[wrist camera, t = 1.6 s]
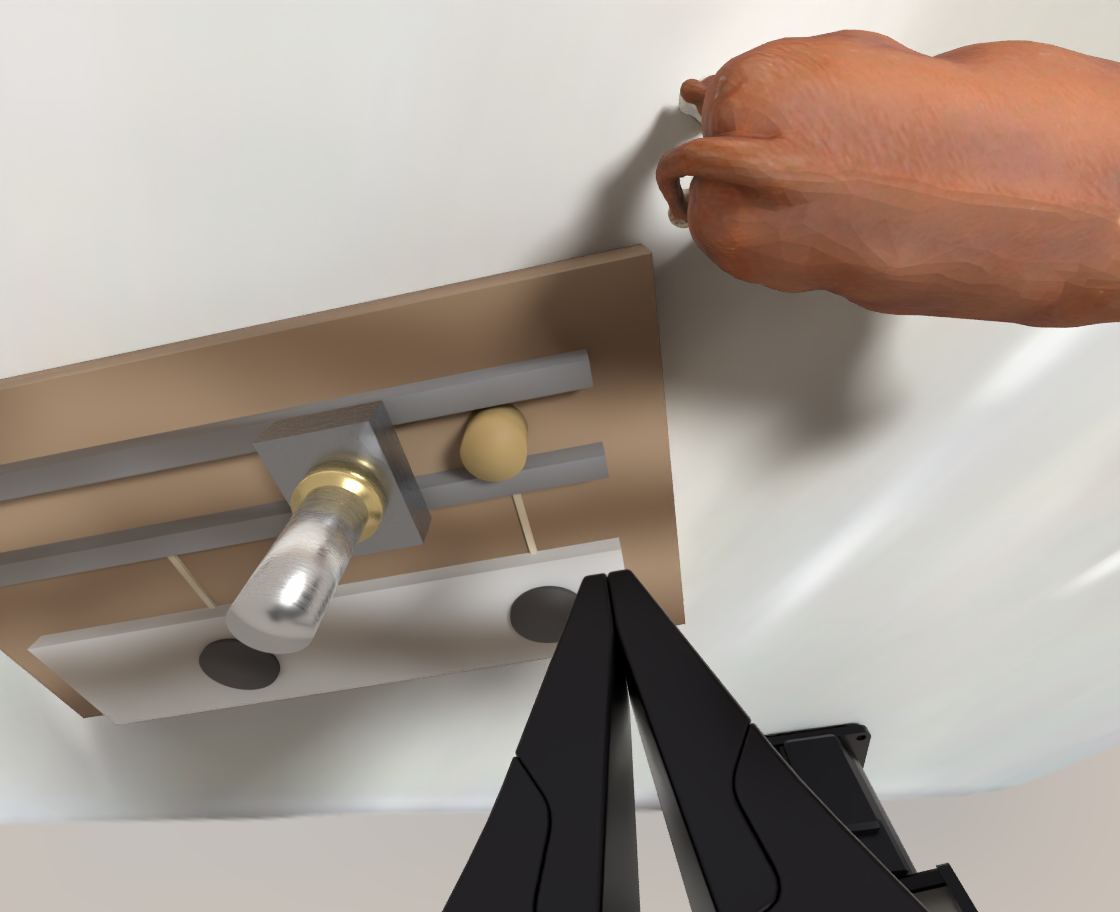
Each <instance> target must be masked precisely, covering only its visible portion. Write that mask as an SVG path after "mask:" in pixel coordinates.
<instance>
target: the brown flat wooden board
mask: <svg viewBox="0 0 1120 912" xmlns="http://www.w3.org/2000/svg"><path fill="white" fill-rule="evenodd" d="M380 400H382V401H383V403H384V405H385V408H386V410H387V412H388V415H389V417H390V420H391V422H392V424H393V427H394V429H395V432H396V434H397V436H398V439H399V441H400V443H401V446H402V448H403V451H404V453H405V455H406V458H407V460H408V462H409V465H410V467H411V470H412V472H413V474H414V477H415V479H416V482H417V484H418V486H419V489H420V491H421V493H422V496H423V498H424V501H425V503H426V505H427V508H428V510H429V512H430V515H431V517H432V518H431V522H430V525H429V529H428V532H427V535H426V539H425V542H424V544H423V545H417V546H411V547H406V548H400V549H394V550H388V551H383V552H377V553H371V554H365V555H360V556H354V557H351V558H350V560H349V563H348V565H347V567H346V569H345V571H344V573H343V575H342V578H341V580H340V582H339V584H338V586H337V588H336V590H335V593H334V595H333V597H332V599H331V601H330V603H329V605H328V607H327V610H326V612H325V614H324V616H323V618H322V620H321V622H320V625H319V627H318V629H317V631H316V633H315V635H314V637H313V639H312V641H311V643H310V644H309V645H308V646H307V647H305V648H304V649H302V650H300V651H297V652H294V653H288V654H273V653H267V652H262V651H259V650H256V649H253V648H251V647H249V646H247V645H245V644H243V643H242V642H240V641H239V640H238V639H237V638H235V637H234V636H233V634H232V633H231V632H230V631H229V629H228V627H227V624H226V614H227V611H228V610H229V608H230V607H231V605H232V604H233V602H234V601H235V599H236V598H237V596H238V595H239V593H240V592H241V591H242V589H243V588H244V586H245V585H246V583H247V582H248V580H249V579H250V577H251V576H252V574H253V573H254V571H255V570H256V569H257V567H258V566H259V564H260V563H261V561H262V560H263V558H264V557H265V555H266V554H267V552H268V551H269V550H270V548H271V547H272V545H273V544H274V542H275V541H276V539H277V538H278V536H279V535H280V533H281V532H282V530H283V529H284V528H285V526H286V525H287V523H288V522H289V520H290V519H291V517H292V516H293V513H292V510H291V507H290V506H289V504H288V502H287V501H286V499H285V497H284V496H283V494H282V492H281V491H280V489H279V487H278V486H277V484H276V482H275V481H274V479H273V477H272V476H271V474H270V472H269V471H268V469H267V467H266V466H265V464H264V462H263V461H262V459H261V457H260V456H259V454H258V453H257V451H256V449H255V448H254V446H253V444H252V443H253V442H254V441H255V440H256V439H257V438H258V437H259V436H260V435H261V434H262V433H263V432H264V431H265V430H266V429H267V428H268V427H269V426H270V425H271V424H272V423H273V422H274V421H278V420H283V419H289V418H294V417H299V416H304V415H309V414H314V413H319V412H324V411H329V410H334V409H339V408H344V407H350V406H355V405H360V404H365V403H370V402H375V401H380ZM624 569H629V570H631V571H632V572H633V573H634V574H635V575H636V577H637V578H638V579H639V580H640V582H641V583H642V584H643V585H644V587H645V588H646V589H647V590H648V592H649V593H650V594H651V595H652V597H653V598H654V599H655V600H656V602H657V603H658V604H659V605H660V607H661V608H662V609H663V610H664V612H665V613H666V614H667V615H668V617H669V618H670V619H671V620H672V621H673V623H674V624H675V625H681V624H685V616H684V605H683V594H682V583H681V572H680V561H679V549H678V538H677V527H676V516H675V505H674V494H673V483H672V472H671V461H670V450H669V439H668V428H667V417H666V406H665V395H664V384H663V373H662V362H661V351H660V340H659V329H658V318H657V307H656V296H655V285H654V274H653V263H652V253H651V252H650V251H649V250H647V249H646V248H645V247H644V246H643V245H642V244H638V245H633V246H629V247H624V248H619V249H615V250H610V251H605V252H600V253H596V254H591V255H586V256H582V257H577V258H572V259H567V260H563V261H558V262H553V263H548V264H544V265H539V266H534V267H530V268H525V269H520V270H515V271H511V272H506V273H501V274H496V275H492V276H487V277H482V278H478V279H473V280H468V281H463V282H459V283H454V284H449V285H444V286H440V287H435V288H430V289H426V290H421V291H416V292H411V293H407V294H402V295H397V296H393V297H388V298H383V299H378V300H374V301H369V302H364V303H359V304H355V305H350V306H345V307H341V308H336V309H331V310H326V311H322V312H317V313H312V314H307V315H303V316H298V317H293V318H289V319H284V320H279V321H274V322H270V323H265V324H260V325H255V326H251V327H246V328H241V329H237V330H232V331H227V332H222V333H218V334H213V335H208V336H204V337H199V338H194V339H189V340H185V341H180V342H175V343H170V344H166V345H161V346H156V347H152V348H147V349H142V350H137V351H133V352H128V353H123V354H118V355H114V356H109V357H104V358H100V359H95V360H90V361H85V362H81V363H76V364H71V365H66V366H62V367H57V368H52V369H48V370H43V371H38V372H33V373H29V374H24V375H19V376H15V377H10V378H5V379H0V650H1V651H3V652H4V653H5V654H6V655H7V656H9V657H10V658H11V659H12V660H13V661H15V662H16V663H17V664H18V665H20V666H21V667H22V668H23V669H24V670H26V671H27V672H28V673H29V674H31V675H32V676H33V677H34V678H35V679H37V680H38V681H39V682H40V683H42V684H43V685H44V686H45V687H46V688H48V689H49V690H50V691H51V692H53V693H54V694H55V695H56V696H57V697H59V698H60V699H61V700H62V701H63V702H65V703H66V704H67V705H68V706H70V707H71V708H72V709H73V710H74V711H76V712H77V713H78V714H79V715H81V716H82V717H83V718H88V717H94V716H100V715H105V716H106V717H107V718H108V719H109V720H111V721H112V722H113V723H114V724H115V725H120V724H127V723H133V722H140V721H146V720H153V719H159V718H166V717H172V716H179V715H185V714H192V713H198V712H204V711H211V710H217V709H224V708H230V707H237V706H243V705H250V704H256V703H263V702H269V701H275V700H282V699H288V698H295V697H301V696H308V695H314V694H321V693H327V692H334V691H340V690H347V689H353V688H359V687H366V686H372V685H379V684H385V683H392V682H398V681H405V680H411V679H418V678H424V677H430V676H437V675H443V674H450V673H456V672H463V671H469V670H476V669H482V668H489V667H495V666H502V665H508V664H514V663H521V662H527V661H534V660H540V659H547V658H552V657H553V654H554V651H555V649H556V646H557V644H558V641H559V639H560V636H561V633H562V631H563V628H564V626H565V623H566V621H567V618H568V615H569V613H570V610H571V608H572V605H573V602H574V600H575V597H576V595H577V592H578V590H579V587H580V584H581V582H582V580H583V578H584V577H585V576H588V575H594V574H600V573H605V574H606V575H607V577H608V573H609V572H612V571H618V570H624Z"/></svg>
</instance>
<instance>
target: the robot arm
mask: <svg viewBox="0 0 1120 912" xmlns="http://www.w3.org/2000/svg"><path fill="white" fill-rule="evenodd" d="M626 682H627V683H626ZM627 687H628V689H627ZM628 691H629V696H630V701H631V705H632V708H633V712H634V716H635V719H636V723H637V726H638V729H639V733H640V736H641V740H642V743H643V746H644V750H645V753H646V757H647V760H648V763H649V767H650V770H651V774H652V777H653V780H654V784H655V787H656V791H657V794H658V797H659V801H660V804H661V808H662V811H663V814H664V818H665V821H666V825H667V828H668V831H669V835H670V838H671V842H672V845H673V848H674V852H675V855H676V859H677V862H678V865H679V869H680V872H681V876H682V879H683V882H684V886H685V889H686V893H687V896H688V899H689V903H690V906H691V910H692V912H978V911H977V909H976V908H975V906H974V904H973V903H972V901H971V899H970V898H969V896H968V894H967V893H966V891H965V889H964V888H963V886H962V884H961V883H960V881H959V879H958V878H957V876H956V874H955V873H954V871H953V869H952V868H951V866H950V865H949V863H945V864H941V865H936V867H937V868H936V869H931V870H927V871H923V872H919V873H917V871H916V869H915V868H914V866H913V864H912V862H911V860H910V858H909V856H908V854H907V852H906V850H905V848H904V847H903V845H902V843H901V841H900V839H899V837H898V835H897V834H896V832H895V830H894V828H893V826H892V824H891V822H890V820H889V818H888V816H887V814H886V812H885V811H884V808H883V807H882V805H881V803H880V801H879V799H878V797H877V795H876V793H875V791H874V789H873V787H872V786H871V784H870V782H869V780H868V778H867V776H866V774H865V772H864V770H863V767H864V763H865V759H866V755H867V750H868V746H869V742H870V738H871V734H870V733H869V731H868V729H867V727H866V726H864V725H855V726H848V727H841V728H834V729H826V730H819V731H812V732H805V733H798V734H790V735H783V736H776V737H769V738H766V737H765V736H764V734H763V733H762V732H761V731H760V729H759V728H758V727H757V726H756V725H755V724H754V723H752V724H751V719H750V717H749V716H748V715H747V714H746V712H745V711H744V710H743V709H742V707H741V706H740V705H739V704H738V702H737V701H736V700H735V699H734V697H733V696H732V695H731V694H730V692H729V691H728V690H727V689H726V687H725V686H724V685H723V684H722V682H721V681H720V680H719V679H718V678H717V676H716V675H715V674H714V673H713V671H712V670H711V669H710V668H709V666H708V665H707V664H706V663H705V661H704V660H703V659H702V658H701V656H700V655H699V654H698V653H697V651H696V650H695V649H694V648H693V646H692V645H691V644H690V643H689V641H688V640H687V639H686V638H685V636H684V635H683V634H682V633H681V631H680V630H679V629H678V628H677V626H676V625H675V624H674V623H673V621H672V620H671V619H670V618H669V617H668V615H667V614H666V613H665V612H664V610H663V609H662V608H661V607H660V605H659V604H658V603H657V602H656V600H655V599H654V598H653V597H652V595H651V594H650V593H649V592H648V590H647V589H646V588H645V587H644V585H643V584H642V583H641V582H640V580H639V579H638V578H637V577H636V575H635V574H634V573H633V572H632V571H631V570H629V569H624V570H618V571H612V572H609V573H608V577H607V575H606V574H605V573H600V574H594V575H588V576H585V577H584V578H583V580H582V582H581V584H580V587H579V590H578V592H577V595H576V597H575V600H574V602H573V605H572V608H571V610H570V613H569V615H568V618H567V621H566V623H565V626H564V628H563V631H562V633H561V636H560V639H559V641H558V644H557V646H556V649H555V651H554V654H553V657H552V659H551V662H550V664H549V667H548V669H547V672H546V675H545V677H544V680H543V682H542V685H541V687H540V690H539V693H538V695H537V698H536V700H535V703H534V705H533V708H532V711H531V713H530V716H529V718H528V721H527V723H526V726H525V729H524V731H523V734H522V736H521V739H520V742H519V744H518V747H517V749H516V752H515V753H516V756H517V757H514V758H513V759H512V761H511V764H510V767H509V769H508V772H507V774H506V777H505V780H504V782H503V785H502V787H501V789H500V792H499V794H498V796H497V799H496V801H495V804H494V806H493V808H492V811H491V813H490V815H489V818H488V820H487V822H486V825H485V827H484V829H483V831H482V833H481V835H480V837H479V839H478V841H477V843H476V845H475V847H474V849H473V851H472V853H471V856H470V858H469V860H468V862H467V864H466V866H465V868H464V870H463V872H462V874H461V876H460V878H459V880H458V881H457V883H456V885H455V887H454V889H453V891H452V893H451V895H450V897H449V899H448V901H447V903H446V905H445V907H444V909H443V911H442V912H640V900H639V899H640V898H639V881H638V880H639V879H638V858H637V839H636V819H635V800H634V780H633V761H632V741H631V722H630V707H629V696H628Z"/></svg>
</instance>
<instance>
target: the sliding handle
mask: <svg viewBox="0 0 1120 912" xmlns="http://www.w3.org/2000/svg"><path fill="white" fill-rule="evenodd" d="M252 444H253V446H254V448H255V449H256V451H257V453H258V454H259V456H260V457H261V459H262V461H263V462H264V464H265V466H266V467H267V469H268V471H269V472H270V474H271V476H272V477H273V479H274V481H275V482H276V484H277V486H278V487H279V489H280V491H281V492H282V494H283V496H284V497H285V499H286V501H287V502H288V504H289V506H290V507H291V510H292V513H293V516H292V517H291V519H290V520H289V522H288V523H287V525H286V526H285V528H284V529H283V530H282V532H281V533H280V535H279V536H278V538H277V539H276V541H275V542H274V544H273V545H272V547H271V548H270V550H269V551H268V552H267V554H266V555H265V557H264V558H263V560H262V561H261V563H260V564H259V566H258V567H257V569H256V570H255V571H254V573H253V574H252V576H251V577H250V579H249V580H248V582H247V583H246V585H245V586H244V588H243V589H242V591H241V592H240V593H239V595H238V596H237V598H236V599H235V601H234V602H233V604H232V605H231V607H230V608H229V610H228V611H227V614H226V624H227V627H228V629H229V631H230V632H231V633H232V634H233V636H234V637H235V638H237V639H238V640H239V641H240V642H242V643H243V644H245V645H247V646H249V647H251V648H253V649H256V650H259V651H262V652H267V653H273V654H288V653H294V652H297V651H300V650H302V649H304V648H305V647H307V646H308V645H309V644H310V643H311V641H312V639H313V637H314V635H315V633H316V631H317V629H318V627H319V625H320V622H321V620H322V618H323V616H324V614H325V612H326V610H327V607H328V605H329V603H330V601H331V599H332V597H333V595H334V593H335V590H336V588H337V586H338V584H339V582H340V580H341V578H342V575H343V573H344V571H345V569H346V567H347V565H348V563H349V560H350V558H351V557H354V556H360V555H365V554H371V553H377V552H383V551H388V550H394V549H400V548H406V547H411V546H417V545H423V544H424V542H425V539H426V535H427V532H428V529H429V525H430V522H431V518H432V517H431V515H430V512H429V510H428V508H427V505H426V503H425V501H424V498H423V496H422V493H421V491H420V489H419V486H418V484H417V482H416V479H415V477H414V474H413V472H412V470H411V467H410V465H409V462H408V460H407V458H406V455H405V453H404V451H403V448H402V446H401V443H400V441H399V439H398V436H397V434H396V432H395V429H394V427H393V424H392V422H391V420H390V417H389V415H388V412H387V410H386V408H385V405H384V403H383V401H382V400H380V401H375V402H370V403H365V404H360V405H355V406H350V407H344V408H339V409H334V410H329V411H324V412H319V413H314V414H309V415H304V416H299V417H294V418H289V419H283V420H278V421H274V422H273V423H272V424H271V425H270V426H269V427H268V428H267V429H266V430H265V431H264V432H263V433H262V434H261V435H260V436H259V437H258V438H257V439H256V440H255V441H254V442H253V443H252Z"/></svg>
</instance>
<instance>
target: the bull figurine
mask: <svg viewBox="0 0 1120 912" xmlns="http://www.w3.org/2000/svg"><path fill="white" fill-rule="evenodd" d="M679 108H680V110H681V111H682V112H683V113H686V114H689V115H691V116H693V117H695V118H696V120H697V121H698V122H699V123H701V126H702V134H703V138H697V139H694V140H692V141H689V142H687V143H684V144H682V145H680V146H677V147H675V148H673V149H671V150H670V151H668V152H667V153H666V154H664V155H663V156H662V158H661V159H660V161H659V163H658V167H657V170H656V180H657V184H658V186H659V189H660V191H661V192H662V194H663V196H664V198H665V199H666V201H667V202H668V205H669V209H668V216H669V219H670V221H671V223H672V224H673V225H675V226H677V227H680V228H687V227H689V230H690V233H691V235H692V238H693V239H694V241H695V242H696V244H697V245H698V246H699V248H700V249H701V250H702V251H703V252H704V253H705V254H706V255H707V256H708V257H709V258H710V259H711V260H712V261H713V262H714V263H715V264H717V265H718V266H719V267H720V268H721V269H722V270H724V271H725V272H727V273H729V274H730V275H732V276H734V277H735V278H737V279H740V280H743V281H746V282H750V283H757V284H762V285H764V286H767V287H769V288H772V289H775V290H779V291H784V292H792V293H795V292H806V291H811V290H817V289H822V290H827V291H830V292H832V293H835V294H838V295H841V296H844V297H845V298H846V299H848V300H849V301H851V302H853V303H855V304H857V305H859V306H861V307H863V308H865V309H868V310H871V311H875V312H880V313H886V314H895V315H924V316H936V317H950V318H962V319H974V320H986V321H998V322H1010V323H1017V324H1022V325H1026V326H1032V327H1054V328H1068V327H1079V326H1086V325H1092V324H1099V323H1109V322H1120V62H1115V61H1111V60H1106V59H1102V58H1098V57H1093V56H1089V55H1085V54H1082V53H1078V52H1075V51H1071V50H1068V49H1065V48H1061V47H1058V46H1054V45H1050V44H1044V43H1038V42H1032V41H999V42H989V43H979V44H973V45H968V46H964V47H960V48H957V49H954V50H951V51H948V52H945V53H942V54H939V55H936V56H934V57H930V56H927V55H924V54H921V53H918V52H916V51H914V50H911V49H909V48H907V47H905V46H903V45H902V44H900V43H898V42H897V41H895V40H893V39H892V38H890V37H888V36H885V35H882V34H879V33H875V32H870V31H863V30H841V31H837V32H832V33H827V34H822V35H817V36H812V37H790V38H782V39H778V40H774V41H770V42H767V43H765V44H763V45H760V46H758V47H756V48H754V49H752V50H750V51H747V52H745V53H743V54H741V55H739V56H736V57H734V58H732V59H730V60H729V61H728V62H727V63H726V64H724V65H723V66H722V67H721V68H720V69H719V71H718V72H717V73H716V75H712V76H709V77H707V78H702V79H701V80H699V81H698V80H695V79H688V80H686V81H685V82H683V84H682V86H681V88H680V96H679ZM686 175H688V176H694V177H693V179H692V181H691V183H690V188H689V189H683V190H682V188H681V185H680V177H684V176H686Z"/></svg>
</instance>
